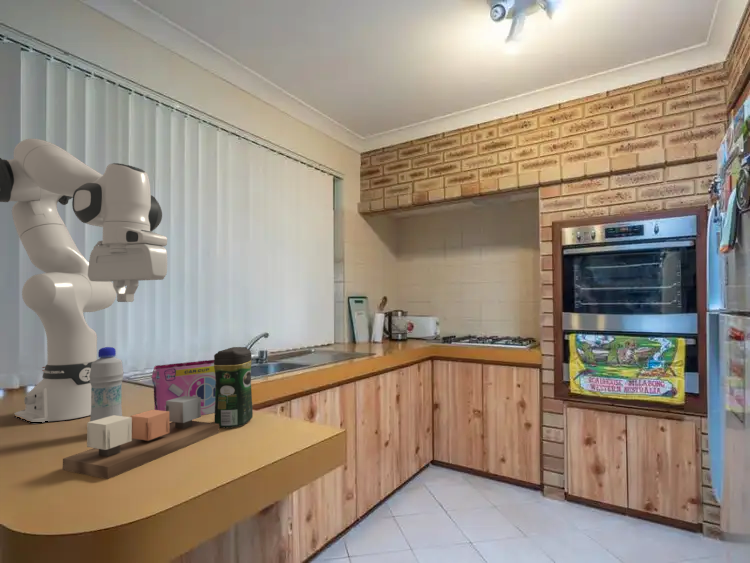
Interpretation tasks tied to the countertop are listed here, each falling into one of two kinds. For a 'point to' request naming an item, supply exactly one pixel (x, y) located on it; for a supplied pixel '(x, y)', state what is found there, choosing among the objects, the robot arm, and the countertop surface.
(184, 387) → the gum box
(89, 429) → the cream button
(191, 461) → the countertop surface
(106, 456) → the button board
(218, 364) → the coffee jar
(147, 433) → the terracotta button
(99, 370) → the bottle
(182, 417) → the slate-grey button
